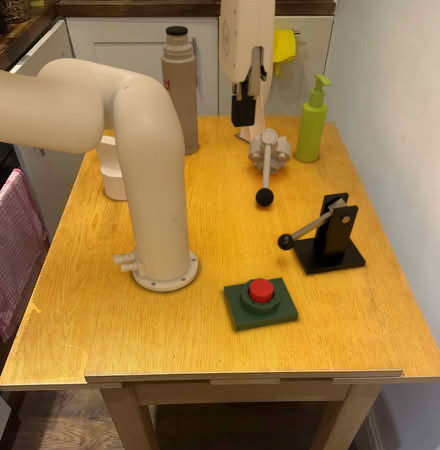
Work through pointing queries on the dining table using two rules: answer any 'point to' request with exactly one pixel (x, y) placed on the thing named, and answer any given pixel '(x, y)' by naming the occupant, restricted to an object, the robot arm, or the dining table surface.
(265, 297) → the button
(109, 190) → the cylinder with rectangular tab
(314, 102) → the soap dispenser
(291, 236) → the lever
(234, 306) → the button box
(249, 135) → the skyscraper
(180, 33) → the thermos bottle
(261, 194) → the mechanical valve
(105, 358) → the dining table surface
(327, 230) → the bracket
